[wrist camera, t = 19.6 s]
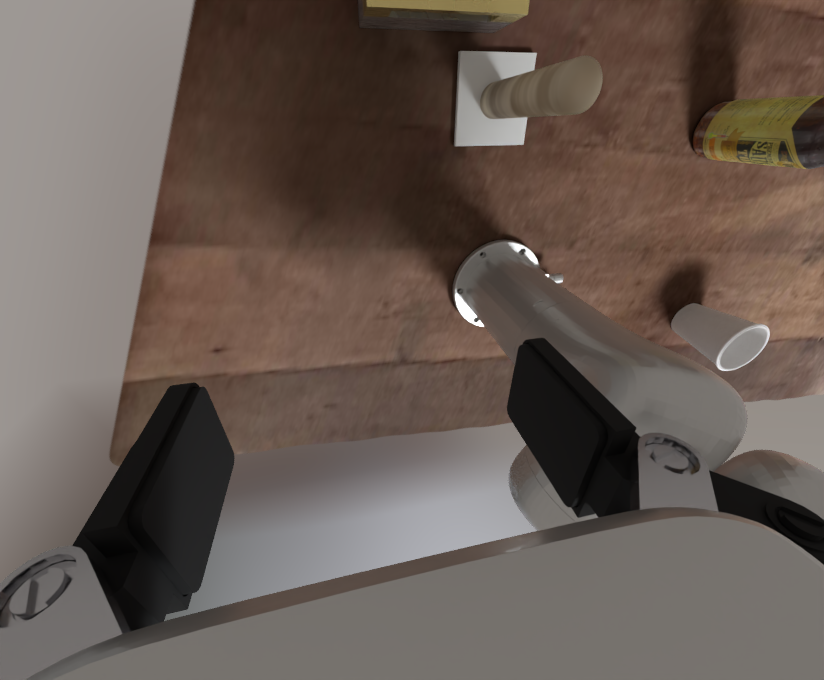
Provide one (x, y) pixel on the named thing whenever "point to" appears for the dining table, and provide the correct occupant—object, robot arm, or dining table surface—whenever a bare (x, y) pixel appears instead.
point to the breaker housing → (441, 14)
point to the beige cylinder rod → (545, 91)
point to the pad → (471, 82)
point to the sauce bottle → (764, 132)
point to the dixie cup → (720, 335)
